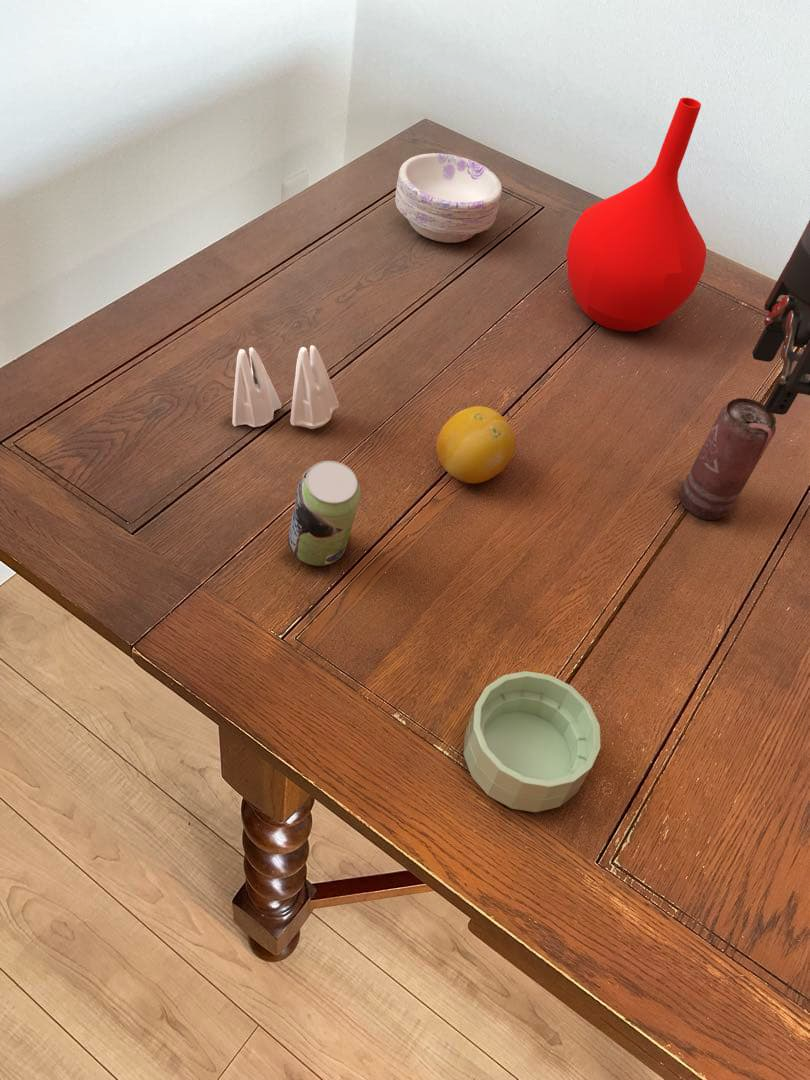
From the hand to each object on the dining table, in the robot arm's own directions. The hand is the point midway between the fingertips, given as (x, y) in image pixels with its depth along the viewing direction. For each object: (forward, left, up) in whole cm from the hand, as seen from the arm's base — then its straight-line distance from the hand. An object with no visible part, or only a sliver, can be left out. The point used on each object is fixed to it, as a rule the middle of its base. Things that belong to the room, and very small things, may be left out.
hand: (767, 384), depth 100 cm
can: (0, 0, -19) cm, 19 cm away
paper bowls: (+35, -50, -19) cm, 64 cm away
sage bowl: (+21, +37, -18) cm, 46 cm away
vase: (+9, -36, -19) cm, 41 cm away
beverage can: (+43, +17, -19) cm, 50 cm away
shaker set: (+50, -2, -19) cm, 53 cm away
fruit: (+28, +1, -19) cm, 33 cm away
